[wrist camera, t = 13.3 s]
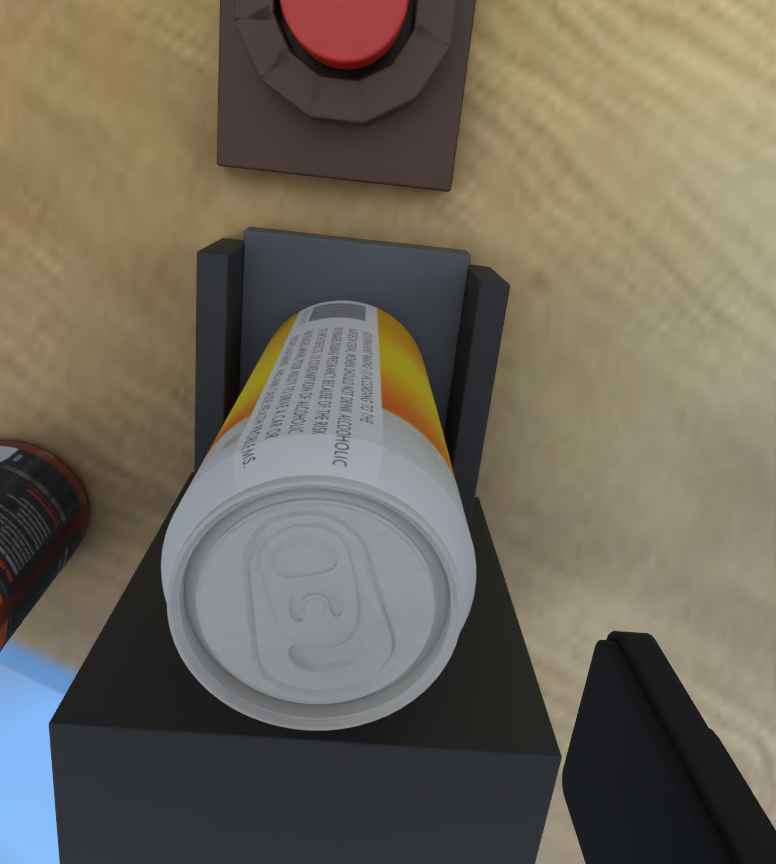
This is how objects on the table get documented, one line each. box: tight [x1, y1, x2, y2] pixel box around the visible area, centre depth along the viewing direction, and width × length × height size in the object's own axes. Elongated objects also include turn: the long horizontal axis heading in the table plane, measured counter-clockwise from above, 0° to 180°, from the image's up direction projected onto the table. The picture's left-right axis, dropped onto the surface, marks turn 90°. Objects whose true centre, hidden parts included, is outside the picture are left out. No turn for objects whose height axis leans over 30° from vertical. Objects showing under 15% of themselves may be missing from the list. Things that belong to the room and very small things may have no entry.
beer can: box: [161, 300, 476, 730], centre depth 20 cm, size 6×6×15 cm
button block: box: [217, 0, 476, 192], centre depth 22 cm, size 8×10×3 cm
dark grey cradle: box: [49, 227, 562, 864], centre depth 22 cm, size 12×16×14 cm
